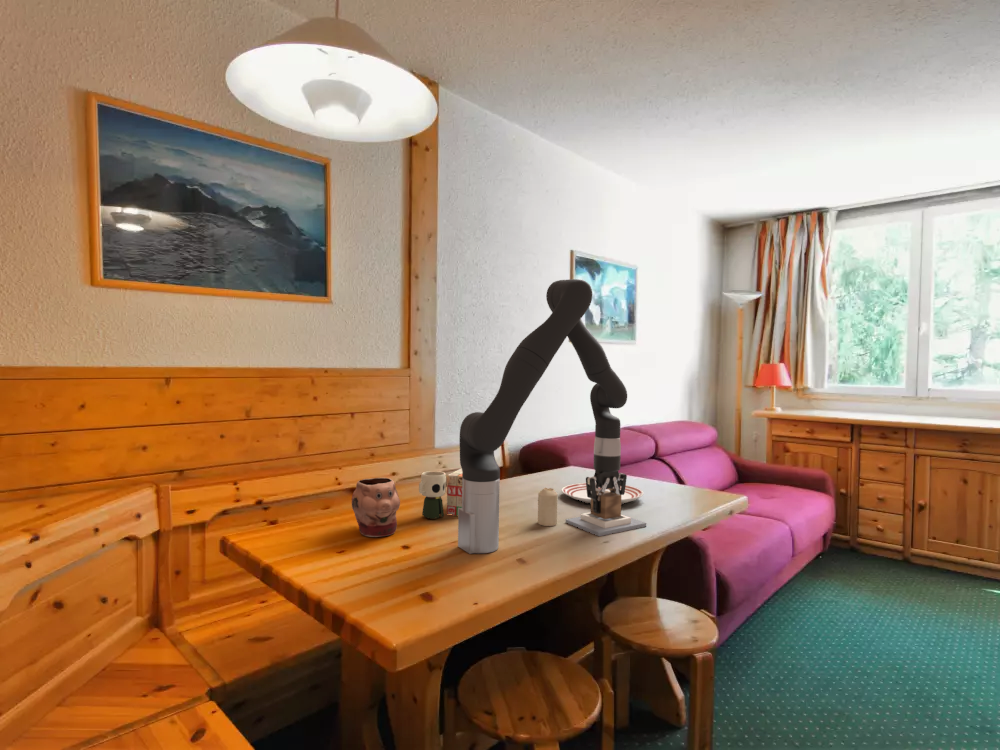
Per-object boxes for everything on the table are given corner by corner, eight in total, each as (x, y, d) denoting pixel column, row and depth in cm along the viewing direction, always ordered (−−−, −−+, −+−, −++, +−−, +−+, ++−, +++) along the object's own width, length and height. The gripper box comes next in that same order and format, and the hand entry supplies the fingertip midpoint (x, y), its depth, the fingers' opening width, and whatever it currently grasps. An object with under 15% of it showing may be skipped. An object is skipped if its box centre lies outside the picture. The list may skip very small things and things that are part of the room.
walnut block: (605, 519, 151) (605, 497, 151) (590, 513, 156) (591, 493, 156) (620, 516, 154) (621, 495, 154) (606, 511, 159) (606, 490, 159)
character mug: (427, 524, 153) (428, 477, 153) (410, 519, 157) (411, 474, 157) (454, 516, 161) (455, 472, 161) (438, 511, 166) (438, 469, 166)
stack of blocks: (472, 498, 183) (472, 462, 182) (489, 500, 181) (490, 463, 180) (446, 515, 162) (447, 474, 162) (465, 517, 160) (466, 476, 160)
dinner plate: (546, 500, 182) (547, 490, 182) (583, 486, 205) (583, 477, 205) (624, 515, 167) (625, 504, 166) (654, 497, 189) (655, 488, 189)
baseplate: (598, 536, 145) (599, 527, 145) (565, 522, 157) (565, 514, 156) (646, 526, 154) (646, 517, 154) (611, 514, 166) (611, 506, 166)
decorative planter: (339, 525, 150) (340, 475, 150) (381, 518, 157) (381, 470, 157) (367, 545, 134) (368, 489, 134) (412, 537, 141) (413, 484, 141)
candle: (543, 527, 152) (544, 491, 152) (534, 521, 157) (535, 487, 157) (560, 525, 154) (561, 490, 154) (551, 519, 159) (551, 485, 159)
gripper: (597, 456, 148) (595, 518, 148) (634, 453, 156) (633, 511, 156) (579, 452, 154) (577, 511, 155) (616, 449, 162) (614, 505, 162)
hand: (605, 511), depth 155 cm, fingers closed on walnut block, 6 cm apart
